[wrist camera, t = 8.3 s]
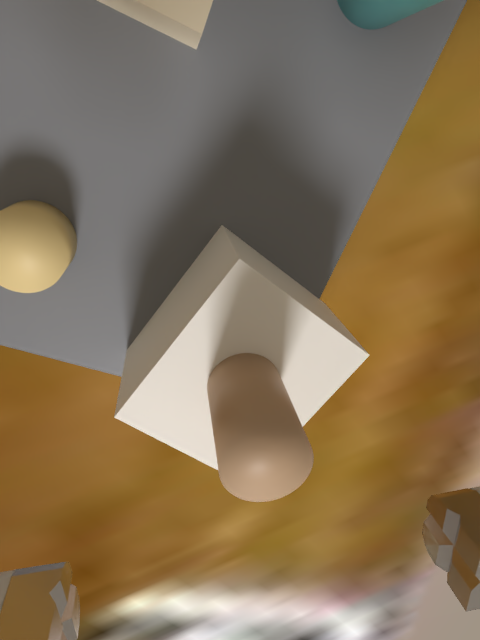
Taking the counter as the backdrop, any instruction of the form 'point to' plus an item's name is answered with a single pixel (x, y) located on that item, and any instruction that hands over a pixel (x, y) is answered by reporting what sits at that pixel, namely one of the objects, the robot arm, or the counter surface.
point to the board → (185, 149)
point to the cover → (237, 369)
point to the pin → (381, 11)
